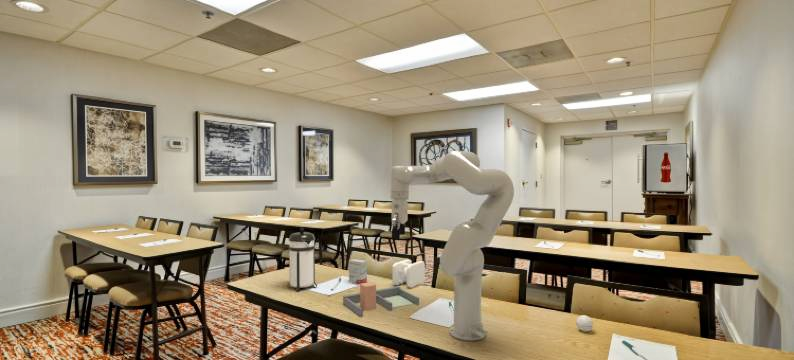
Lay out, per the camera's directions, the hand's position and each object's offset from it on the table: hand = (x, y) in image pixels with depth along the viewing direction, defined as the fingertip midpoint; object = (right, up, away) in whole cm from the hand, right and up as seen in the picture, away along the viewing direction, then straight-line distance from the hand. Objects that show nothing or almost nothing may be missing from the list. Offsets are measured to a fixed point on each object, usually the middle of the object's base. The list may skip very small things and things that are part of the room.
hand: (398, 236), depth 161 cm
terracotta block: (-13, -31, +3) cm, 33 cm away
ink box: (-21, -30, +40) cm, 55 cm away
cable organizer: (+5, -30, +37) cm, 48 cm away
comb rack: (-7, -31, +7) cm, 32 cm away
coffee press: (-49, -30, +33) cm, 67 cm away
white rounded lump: (+67, -31, -22) cm, 77 cm away
